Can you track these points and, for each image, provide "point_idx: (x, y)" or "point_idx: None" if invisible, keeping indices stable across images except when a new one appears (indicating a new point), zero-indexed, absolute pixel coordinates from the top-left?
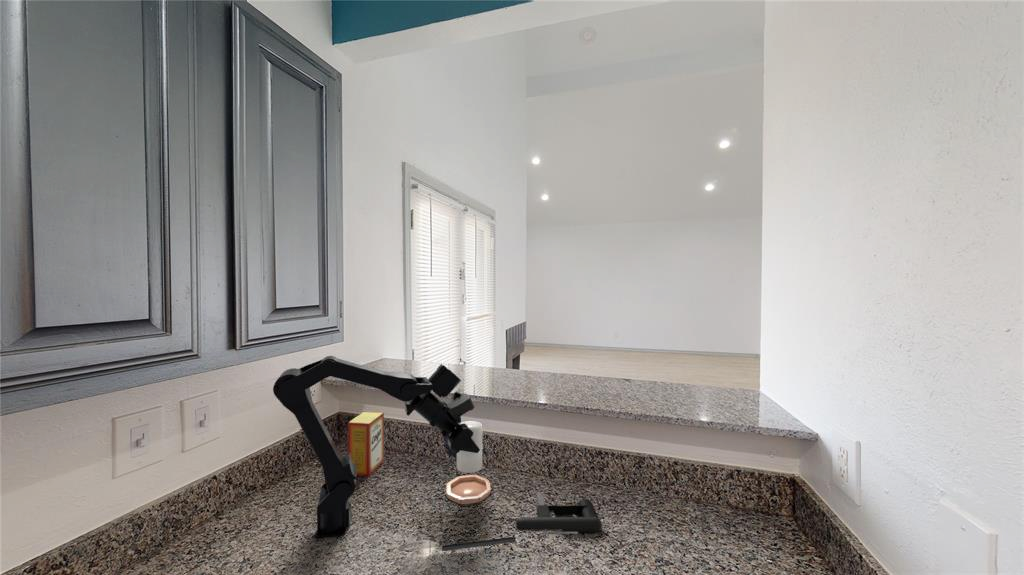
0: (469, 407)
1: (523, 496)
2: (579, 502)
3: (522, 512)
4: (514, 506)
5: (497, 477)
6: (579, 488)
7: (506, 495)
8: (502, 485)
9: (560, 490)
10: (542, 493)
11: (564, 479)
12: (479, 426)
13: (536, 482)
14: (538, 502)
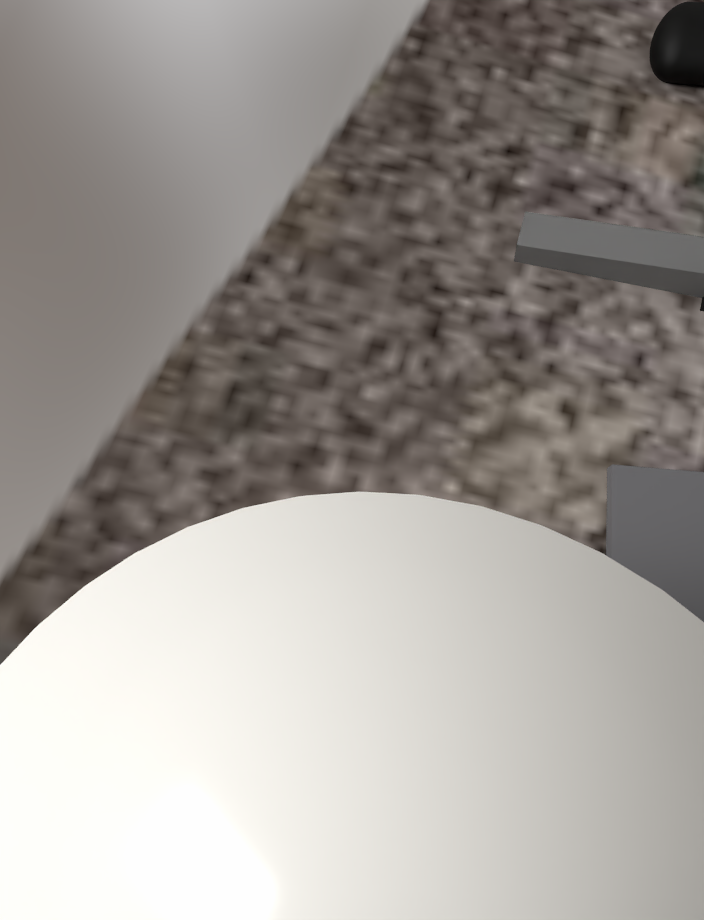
0: None
1: (496, 333)
2: (688, 57)
3: (661, 381)
4: (589, 411)
5: (233, 436)
6: (494, 30)
7: (459, 430)
8: (338, 427)
9: (487, 124)
10: (544, 217)
11: (383, 73)
12: (528, 630)
13: (367, 223)
14: (648, 264)
